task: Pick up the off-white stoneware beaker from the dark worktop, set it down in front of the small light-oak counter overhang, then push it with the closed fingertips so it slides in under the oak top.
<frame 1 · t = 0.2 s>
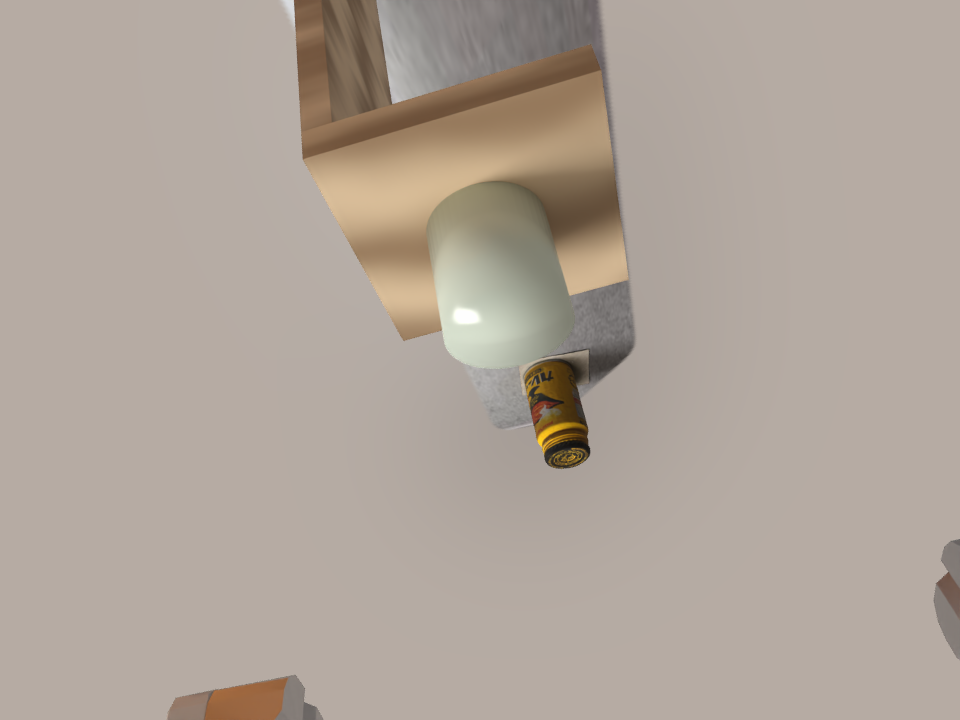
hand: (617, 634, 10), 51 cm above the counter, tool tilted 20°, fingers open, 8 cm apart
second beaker: (486, 226, 34), point 30 cm above the counter, touching oak counter shelf
condiment: (554, 370, 101), on the counter
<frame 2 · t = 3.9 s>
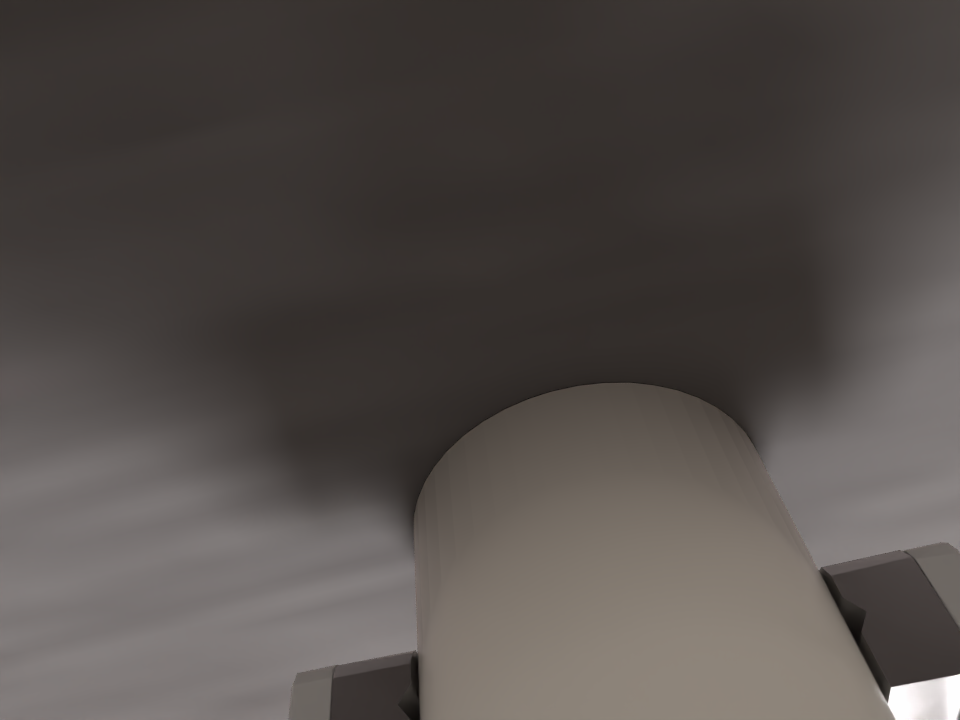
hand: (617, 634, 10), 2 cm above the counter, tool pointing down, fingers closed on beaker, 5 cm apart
beaker: (589, 520, 12), on the counter, touching gripper
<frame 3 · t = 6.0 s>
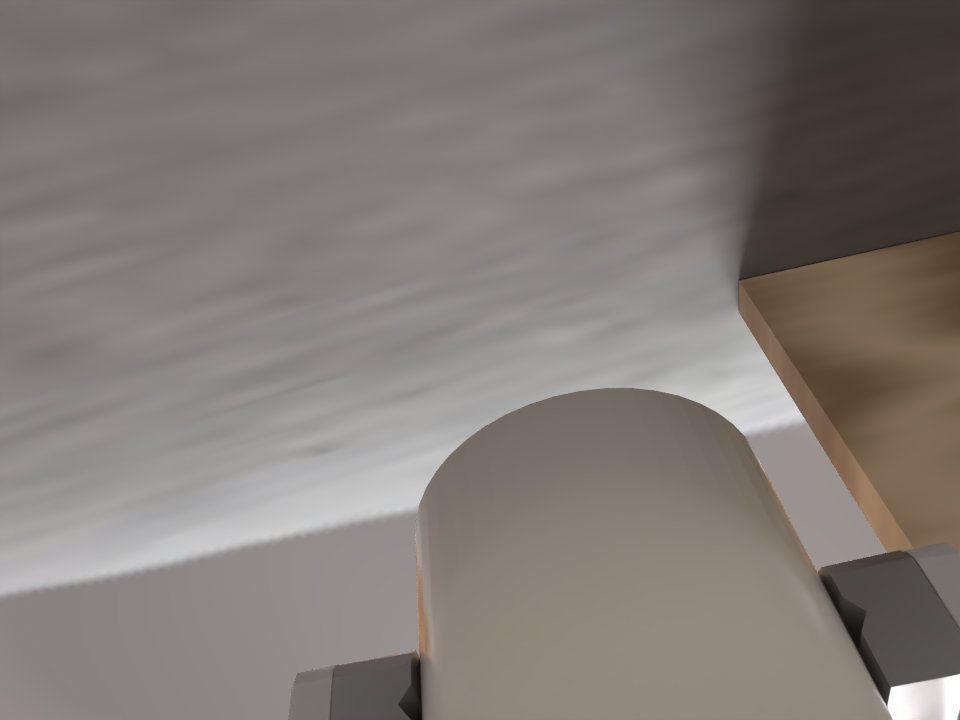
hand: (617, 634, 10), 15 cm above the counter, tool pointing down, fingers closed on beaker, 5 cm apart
oak counter shelf: (959, 97, 22), on the counter
beaker: (590, 524, 12), point 13 cm above the counter, touching gripper
when the fingers open (3 cm above the counter, at t = 8.4 s): beaker drops 1 cm, on the counter.
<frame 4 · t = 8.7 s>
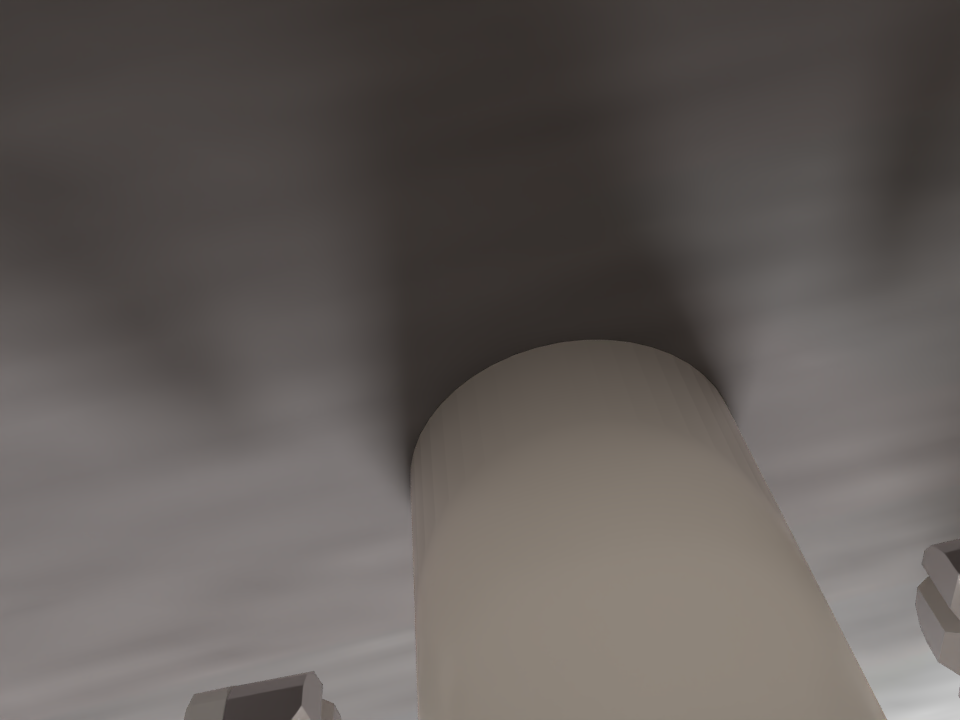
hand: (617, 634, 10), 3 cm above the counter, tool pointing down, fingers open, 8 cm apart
beaker: (573, 471, 13), on the counter
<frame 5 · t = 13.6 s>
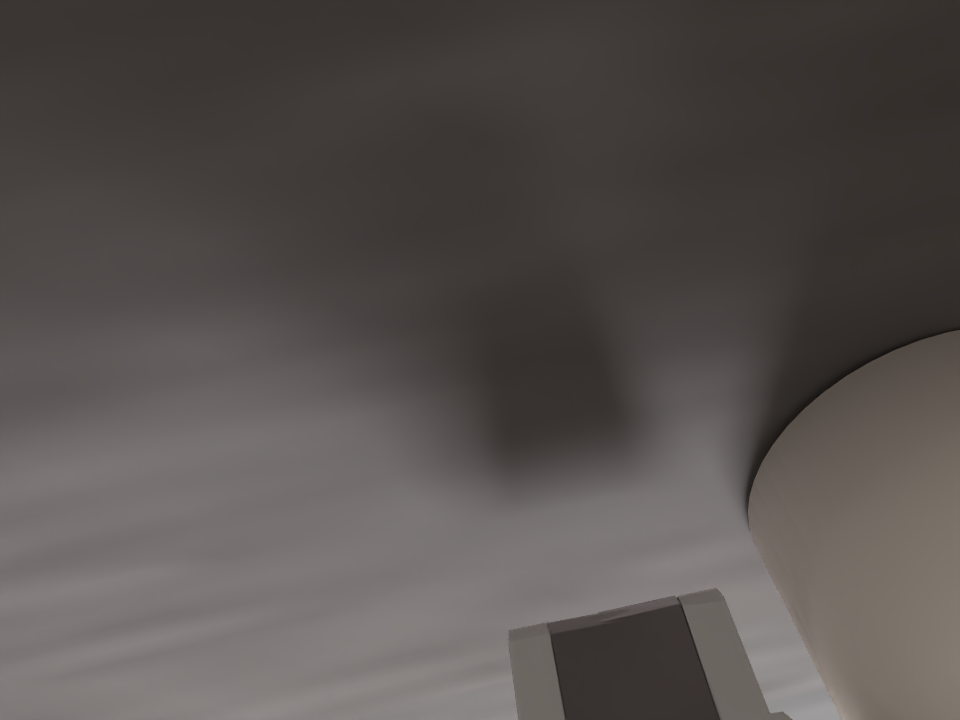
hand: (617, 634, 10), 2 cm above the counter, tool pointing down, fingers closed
beaker: (923, 473, 12), on the counter, touching gripper
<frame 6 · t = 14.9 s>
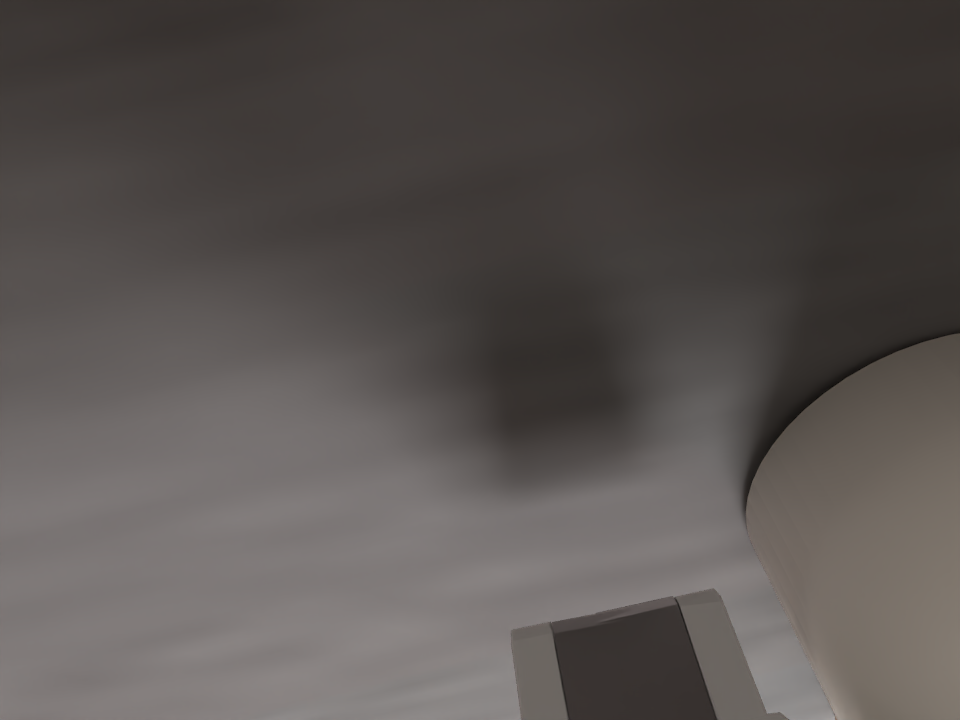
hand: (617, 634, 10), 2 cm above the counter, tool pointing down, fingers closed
beaker: (920, 476, 12), on the counter, touching gripper
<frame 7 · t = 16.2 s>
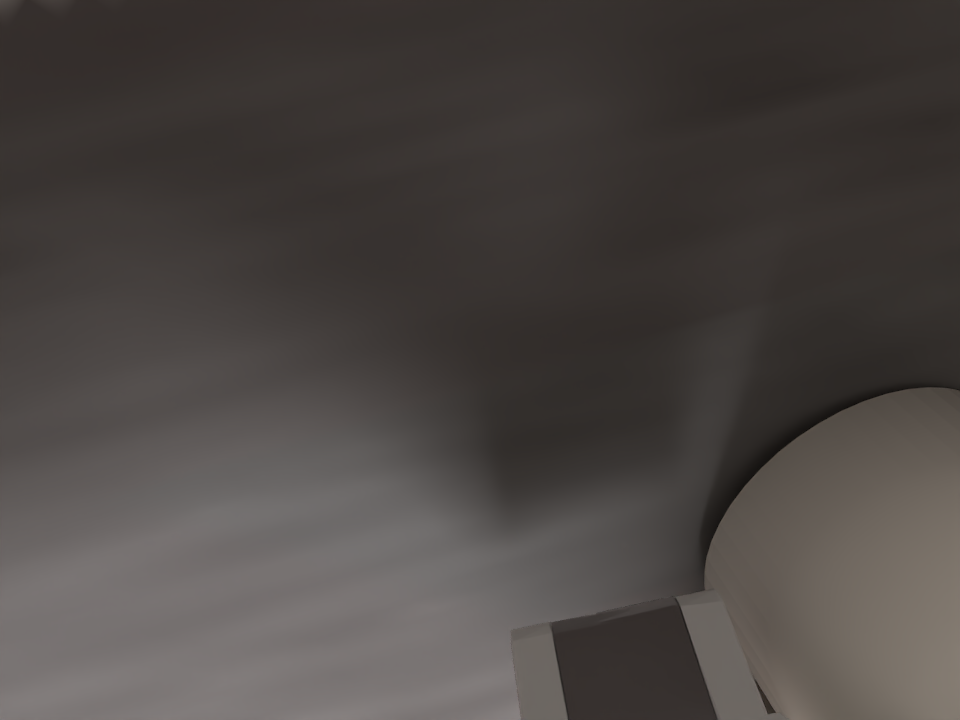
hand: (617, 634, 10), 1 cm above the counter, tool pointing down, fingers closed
beaker: (858, 527, 12), on the counter, touching gripper
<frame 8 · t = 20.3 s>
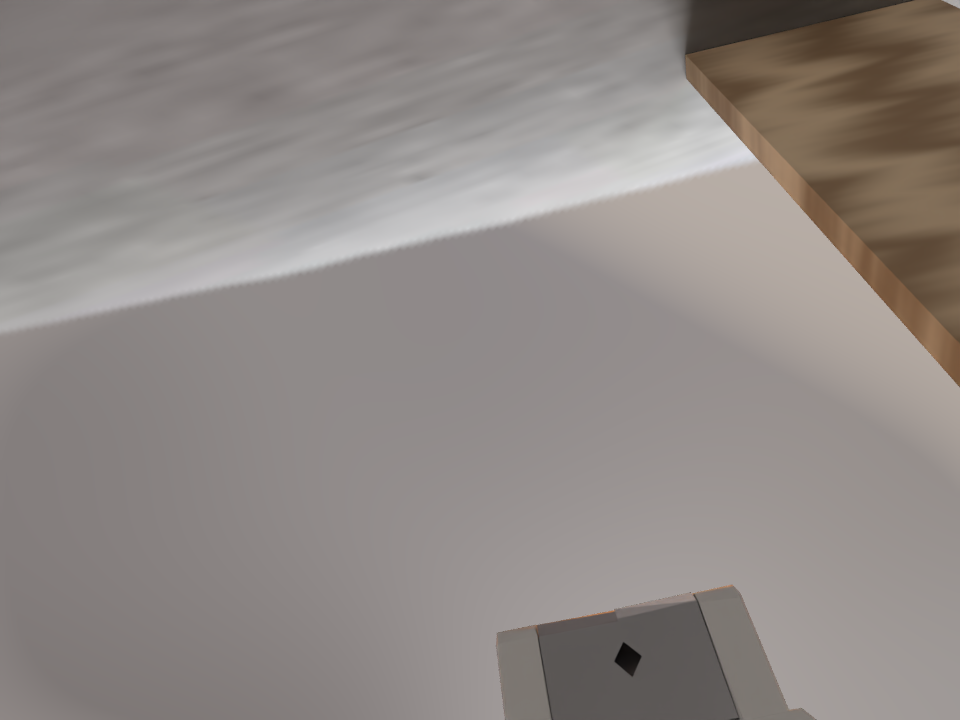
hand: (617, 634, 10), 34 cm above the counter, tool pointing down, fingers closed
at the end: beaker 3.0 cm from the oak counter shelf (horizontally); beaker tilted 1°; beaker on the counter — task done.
